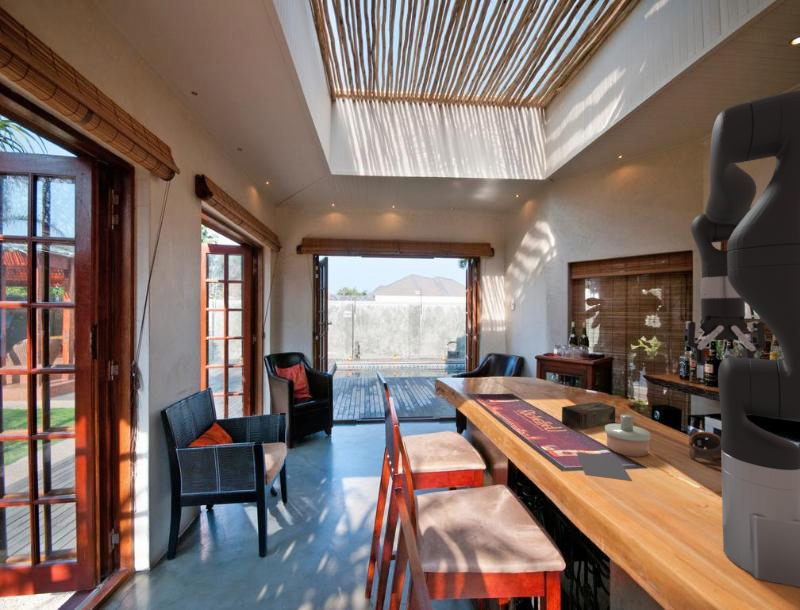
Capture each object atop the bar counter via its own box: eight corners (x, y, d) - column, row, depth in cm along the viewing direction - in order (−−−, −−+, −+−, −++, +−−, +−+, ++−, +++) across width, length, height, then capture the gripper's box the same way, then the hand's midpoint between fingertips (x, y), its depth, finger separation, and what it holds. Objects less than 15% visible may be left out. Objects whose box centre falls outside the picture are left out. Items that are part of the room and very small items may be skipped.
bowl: (654, 461, 93) (653, 442, 93) (611, 456, 96) (611, 438, 96) (641, 447, 102) (641, 430, 102) (603, 443, 106) (603, 426, 106)
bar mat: (632, 483, 82) (632, 480, 82) (585, 476, 85) (585, 474, 85) (616, 458, 95) (616, 456, 95) (576, 454, 98) (576, 452, 98)
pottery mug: (746, 468, 90) (738, 444, 88) (710, 482, 91) (701, 458, 89) (707, 439, 101) (699, 417, 100) (675, 452, 103) (667, 430, 101)
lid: (656, 443, 92) (656, 424, 92) (609, 438, 96) (609, 420, 96) (642, 429, 103) (642, 412, 103) (600, 425, 106) (600, 409, 106)
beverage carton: (617, 423, 125) (616, 404, 125) (579, 431, 117) (579, 411, 117) (596, 416, 132) (596, 399, 132) (560, 424, 124) (560, 405, 125)
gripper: (692, 296, 79) (693, 367, 79) (772, 295, 74) (774, 370, 74) (678, 297, 86) (679, 362, 86) (750, 296, 82) (752, 365, 81)
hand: (723, 366), depth 80 cm, fingers open, 8 cm apart
